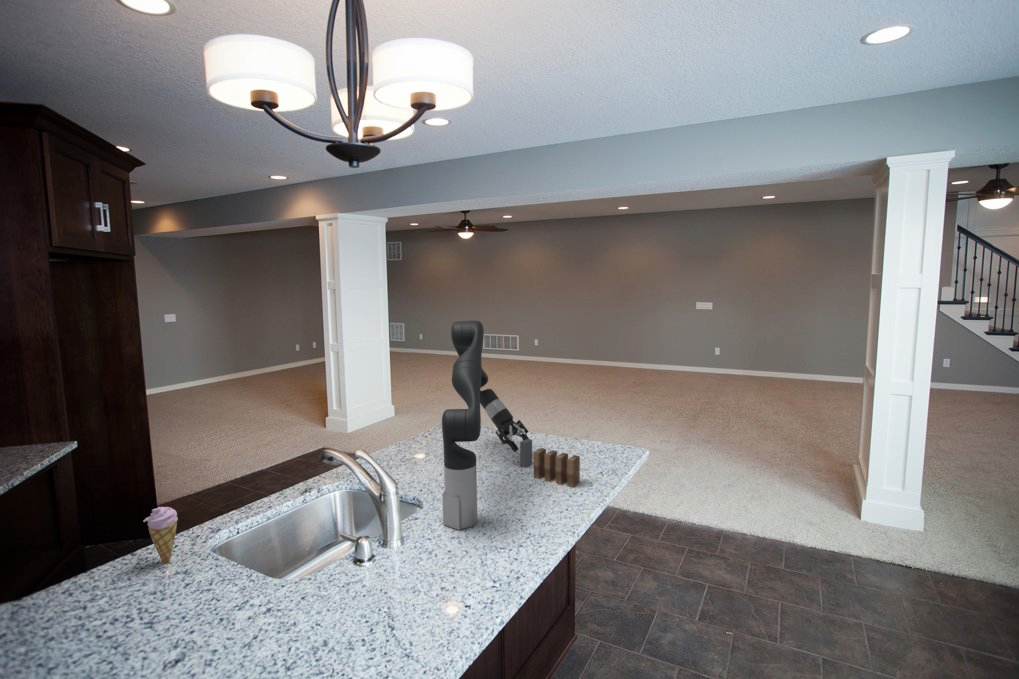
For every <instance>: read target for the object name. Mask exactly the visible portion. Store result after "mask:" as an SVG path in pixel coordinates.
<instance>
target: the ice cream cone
mask: <svg viewBox="0 0 1019 679" xmlns="http://www.w3.org/2000/svg"><path fill="white" fill-rule="evenodd" d="M178 520H179V519H178V513H177V511H176V510H175V509H173V508H172V507H169V506H158V507H157V508H153V509H151V513H150V516H148V517H146V518H144V520H143V523H145V522H147V526H148V527H147V529H148V531H149V536H150V538H151V540H152V543H153V544H154V547H155V550H156V552H157V554H158V556H159V557H160V560H161V562H162V564H169V563H170V561H171V558H172V553H173V548H174V544H175V538H176V532H177V527H178Z"/></svg>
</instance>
